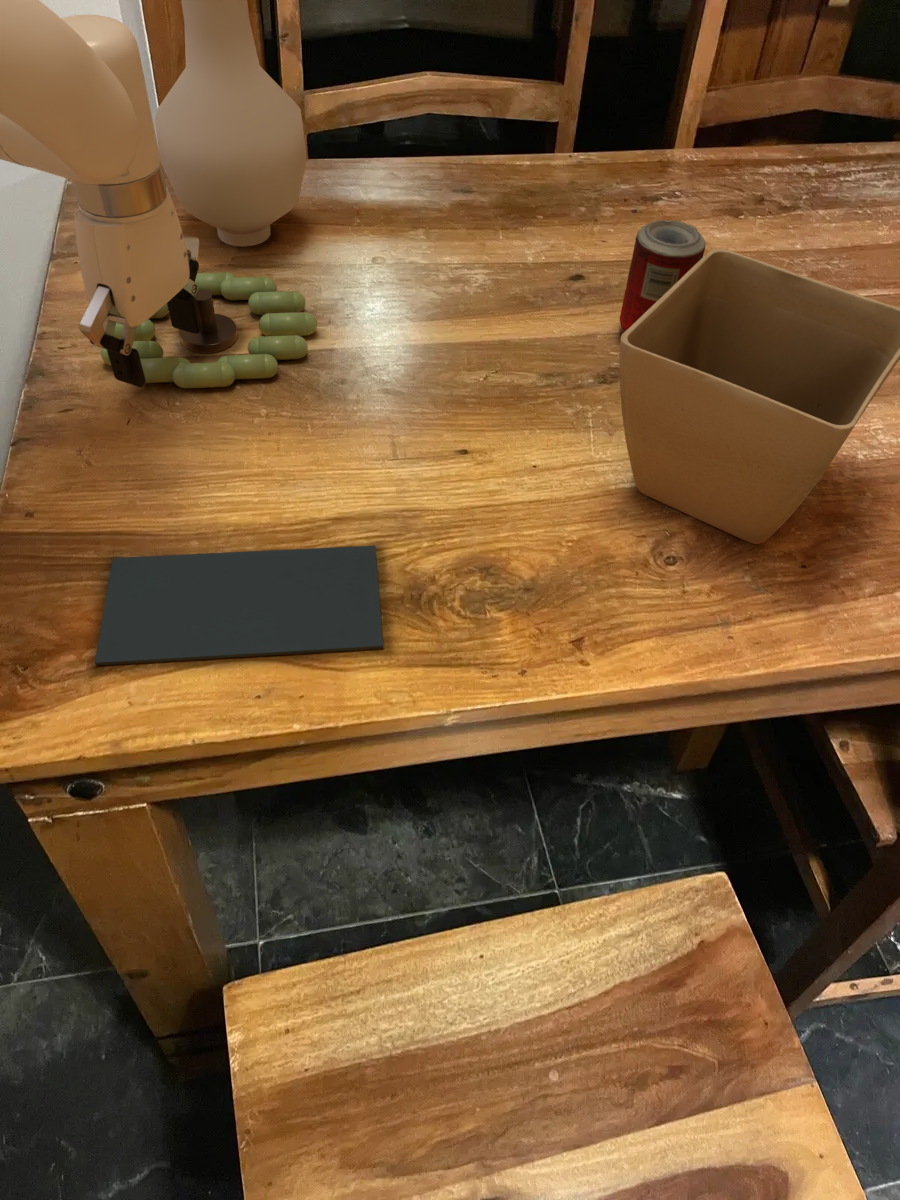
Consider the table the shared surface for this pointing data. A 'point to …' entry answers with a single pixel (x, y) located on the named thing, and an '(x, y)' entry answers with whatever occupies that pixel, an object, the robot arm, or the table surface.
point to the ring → (280, 343)
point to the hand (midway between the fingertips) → (159, 354)
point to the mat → (240, 605)
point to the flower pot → (748, 388)
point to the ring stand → (209, 328)
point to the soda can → (658, 265)
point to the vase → (230, 128)
